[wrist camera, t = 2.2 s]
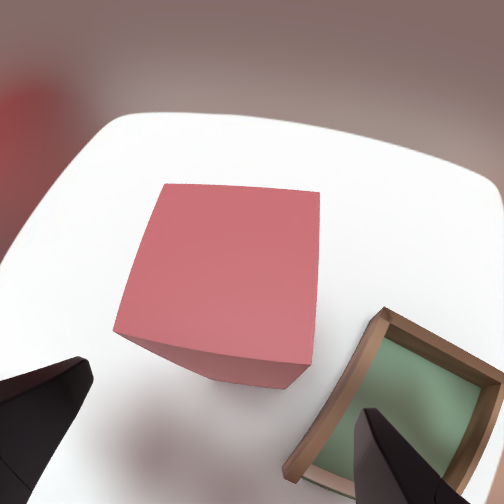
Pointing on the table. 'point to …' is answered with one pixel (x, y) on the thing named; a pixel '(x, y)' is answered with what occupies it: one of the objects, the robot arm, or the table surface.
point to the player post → (227, 282)
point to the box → (404, 405)
